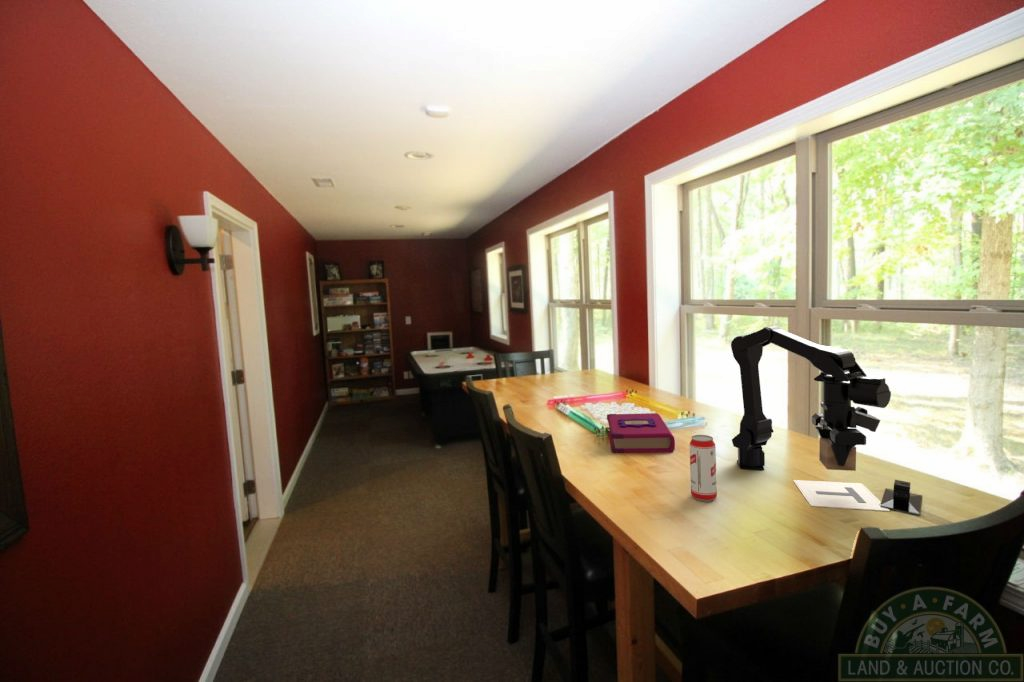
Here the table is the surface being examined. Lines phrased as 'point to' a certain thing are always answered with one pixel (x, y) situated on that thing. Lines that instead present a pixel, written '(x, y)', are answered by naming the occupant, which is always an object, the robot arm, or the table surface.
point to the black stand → (901, 498)
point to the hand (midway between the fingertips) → (836, 461)
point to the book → (639, 434)
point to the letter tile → (838, 495)
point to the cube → (830, 460)
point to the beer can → (703, 468)
